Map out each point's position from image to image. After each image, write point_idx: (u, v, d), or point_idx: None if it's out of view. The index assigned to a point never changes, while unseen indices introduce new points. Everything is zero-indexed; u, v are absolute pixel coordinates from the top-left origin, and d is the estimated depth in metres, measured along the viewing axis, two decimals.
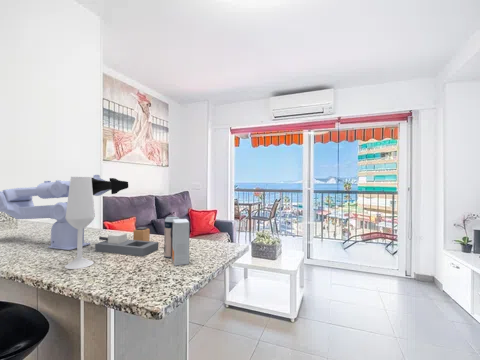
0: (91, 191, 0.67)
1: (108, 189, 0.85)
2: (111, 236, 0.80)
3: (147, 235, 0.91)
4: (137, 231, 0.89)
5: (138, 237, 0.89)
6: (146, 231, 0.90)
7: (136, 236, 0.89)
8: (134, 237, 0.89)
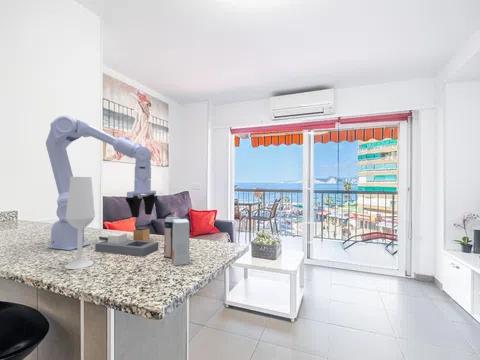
0: (91, 191, 0.67)
1: None
2: (111, 236, 0.80)
3: (147, 235, 0.91)
4: (137, 231, 0.89)
5: (138, 237, 0.89)
6: (146, 231, 0.90)
7: (136, 236, 0.89)
8: (134, 237, 0.89)
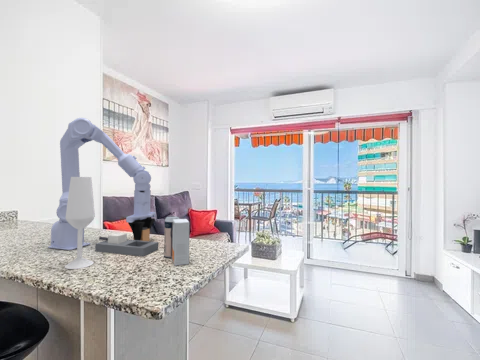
0: (91, 191, 0.67)
1: None
2: (111, 236, 0.80)
3: (147, 235, 0.91)
4: None
5: None
6: (146, 231, 0.90)
7: None
8: None
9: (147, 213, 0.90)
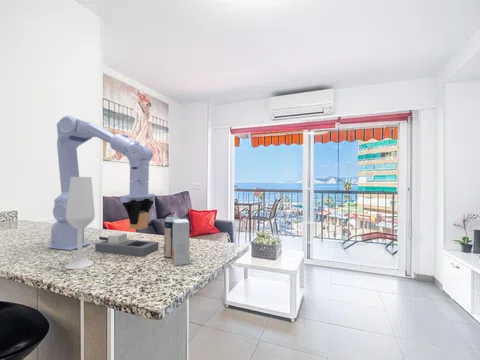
0: (91, 191, 0.67)
1: None
2: (111, 236, 0.80)
3: (145, 219, 0.80)
4: None
5: None
6: (144, 214, 0.79)
7: None
8: None
9: (145, 193, 0.78)
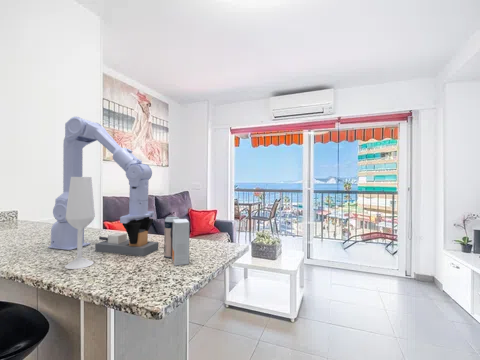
0: (91, 191, 0.67)
1: None
2: (111, 236, 0.80)
3: (145, 238, 0.80)
4: None
5: None
6: (144, 234, 0.79)
7: None
8: None
9: (144, 212, 0.78)
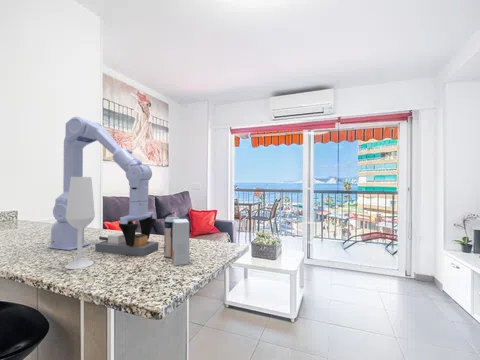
0: (91, 191, 0.67)
1: None
2: (111, 236, 0.80)
3: (145, 243, 0.80)
4: None
5: (134, 245, 0.78)
6: (143, 238, 0.79)
7: None
8: None
9: (144, 213, 0.78)
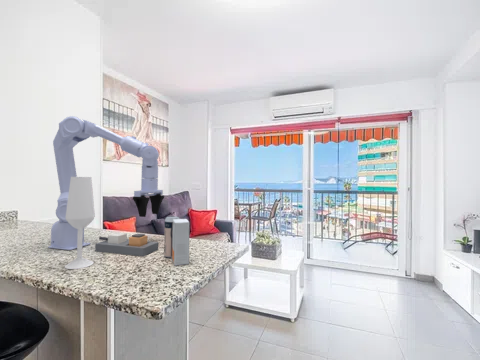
0: (91, 191, 0.67)
1: None
2: (111, 236, 0.80)
3: (145, 243, 0.80)
4: (133, 238, 0.78)
5: (134, 245, 0.78)
6: (143, 238, 0.79)
7: (132, 244, 0.78)
8: (130, 245, 0.78)
9: (155, 189, 0.89)
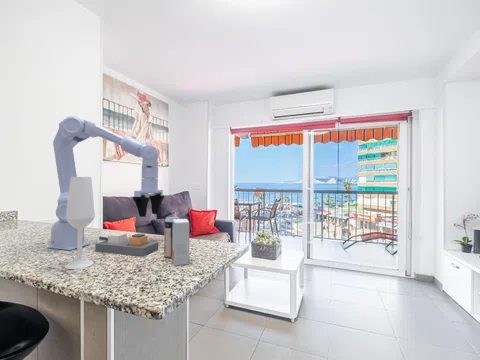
0: (91, 191, 0.67)
1: None
2: (111, 236, 0.80)
3: (145, 243, 0.80)
4: (133, 238, 0.78)
5: (134, 245, 0.78)
6: (143, 238, 0.79)
7: (132, 244, 0.78)
8: (130, 245, 0.78)
9: (155, 189, 0.89)
